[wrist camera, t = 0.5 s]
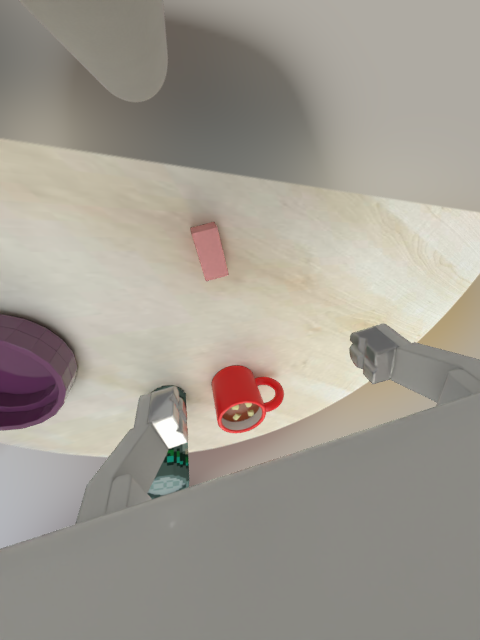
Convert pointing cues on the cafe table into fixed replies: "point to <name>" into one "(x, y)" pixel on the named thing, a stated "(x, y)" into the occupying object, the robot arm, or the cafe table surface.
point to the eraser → (209, 250)
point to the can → (172, 467)
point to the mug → (242, 398)
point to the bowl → (32, 373)
